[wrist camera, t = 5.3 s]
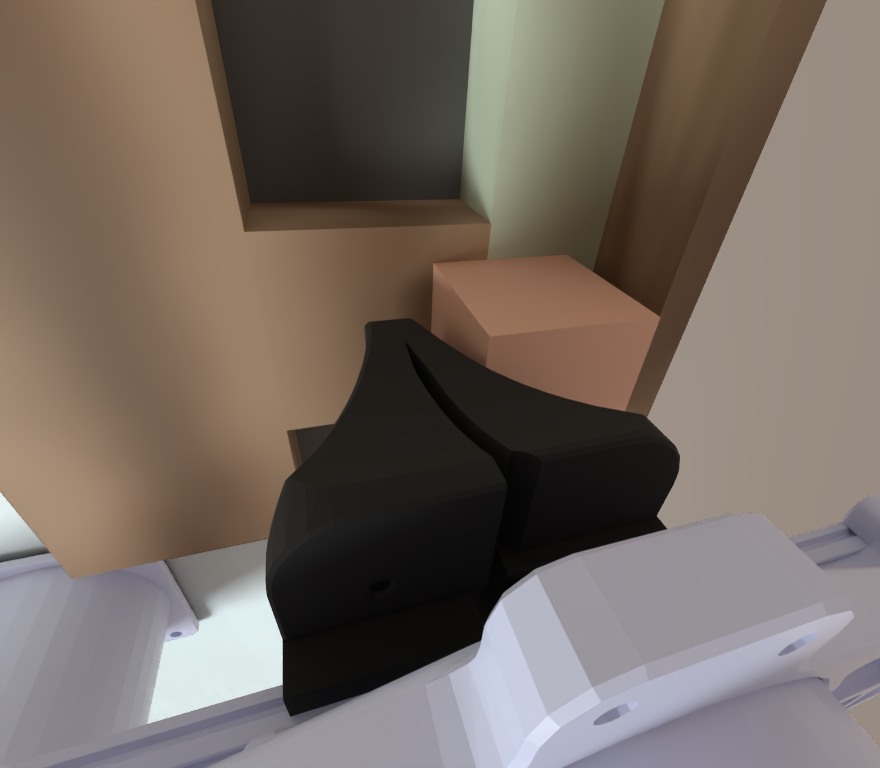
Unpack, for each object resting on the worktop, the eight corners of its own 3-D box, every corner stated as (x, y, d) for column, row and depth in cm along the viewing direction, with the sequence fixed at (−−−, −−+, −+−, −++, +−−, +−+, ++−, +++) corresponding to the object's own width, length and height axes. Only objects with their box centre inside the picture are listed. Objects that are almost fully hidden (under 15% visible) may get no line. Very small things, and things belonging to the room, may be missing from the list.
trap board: (101, 507, 17) (31, 678, 12) (-292, -111, 7) (-1323, -422, 3) (527, 433, 21) (595, 536, 17) (624, -1, 12) (844, -43, 7)
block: (429, 385, 14) (471, 477, 11) (433, 262, 11) (489, 336, 8) (541, 369, 15) (610, 449, 12) (566, 254, 12) (661, 317, 9)
